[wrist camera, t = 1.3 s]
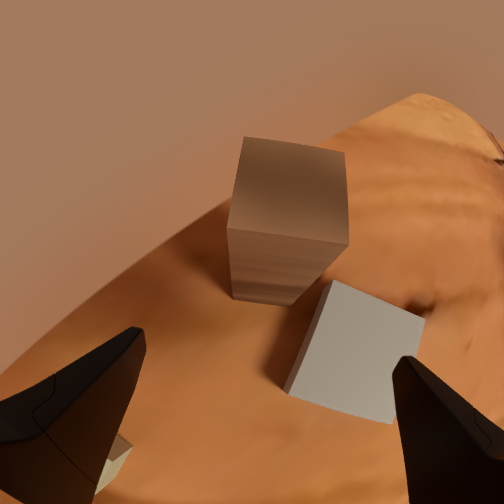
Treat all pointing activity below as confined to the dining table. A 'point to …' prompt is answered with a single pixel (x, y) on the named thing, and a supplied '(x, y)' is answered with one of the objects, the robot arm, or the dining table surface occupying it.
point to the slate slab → (353, 353)
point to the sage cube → (114, 461)
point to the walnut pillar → (285, 219)
